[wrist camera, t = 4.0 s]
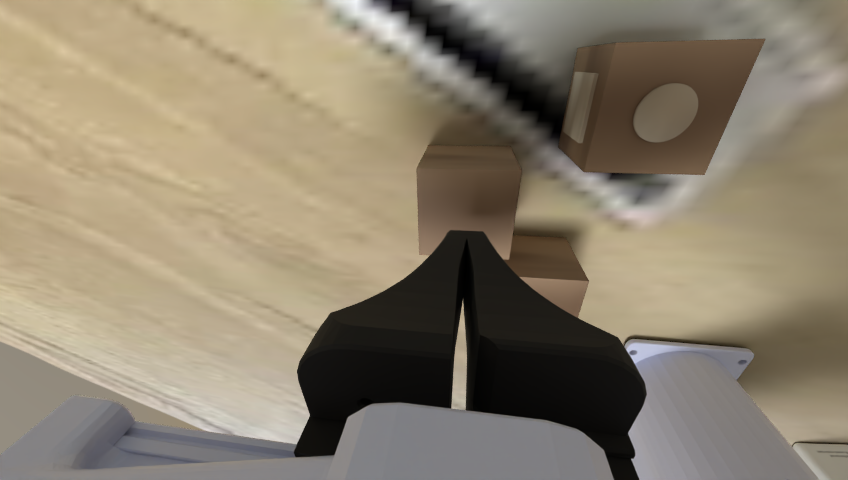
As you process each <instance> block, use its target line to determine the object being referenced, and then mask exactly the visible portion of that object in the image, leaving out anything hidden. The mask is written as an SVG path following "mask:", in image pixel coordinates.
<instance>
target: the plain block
mask: <svg viewBox="0 0 848 480" xmlns="http://www.w3.org/2000/svg"><path fill="white" fill-rule="evenodd" d="M521 174H522V170H521V168H520V166H519V164H518V161H517V159H516V157H515V155H514V153H513V151H512V149H511V147H510V146H452V145H428V147H427V149H426V151H425V153H424V155H423V157H422V159H421V161H420V163H419V165H418V167H417V198H418V231H419V255H431V254H432V253H433V251H434V250H435V249H436V248H437V247H438V245H439V244H440V243H441V242H442V240H443V239H444V237H445V236H446V234H447V232H449V231H450V230H463V231H483V232H484V233H485V234H486V235H487V237H488V239H489V240H490V242H491V244H492V245H493V247H494V248H495V249H496V251H497V252H498V253H499V255H500V256H501V257H502V259H507V260H509V257H510V250H511V243H512V236H513V229H514V222H515V215H516V208H517V201H518V194H519V187H520V180H521Z"/></svg>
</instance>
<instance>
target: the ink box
mask: <svg viewBox="0 0 848 480" xmlns="http://www.w3.org/2000/svg"><path fill="white" fill-rule="evenodd" d="M793 449H794V450H795V451H796V452H797V453H798V455H799V456H800V457H801V458H802V459H803V461H804V462H805V463H806V464H807V465H808V467H809V468H810V469H811V470H812V471H813V472H814V474H815V475H816V476H817V477H818V478H819V480H848V445H845V444H808V443H795V444H794V445H793Z"/></svg>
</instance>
